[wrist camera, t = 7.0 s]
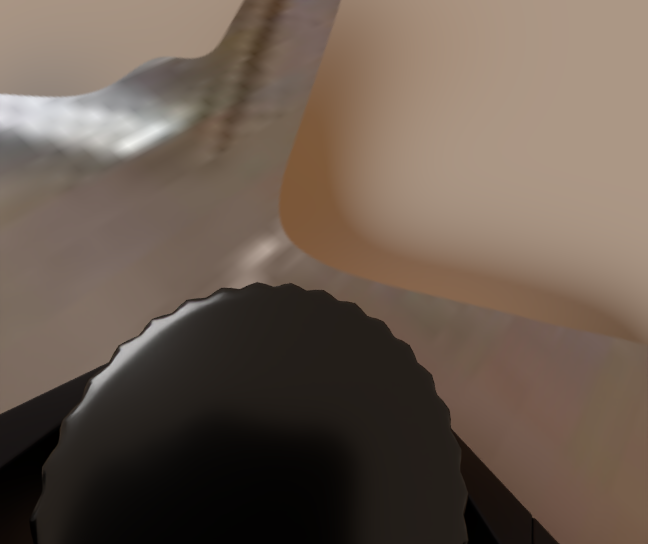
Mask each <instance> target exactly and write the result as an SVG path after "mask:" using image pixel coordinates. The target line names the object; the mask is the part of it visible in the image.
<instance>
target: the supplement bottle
mask: <svg viewBox="0 0 648 544" xmlns="http://www.w3.org/2000/svg"><path fill="white" fill-rule="evenodd" d="M450 423H451V418H450V411H449V409H448V407H447V406H446V404H445V403H444V402H443V401H442V399H441V398H440V397H439V396H438V395H437V393H436V390H435V384H434V380H433V377H432V374H430V373H429V372H428V371H427V370H426V369H425V368H424V367H423V366H421V365H420V364H419V363H417V360H416V358H415V355H414V353H413V351H412V349H411V347H410V345H408V344H407V343H405V342H404V341H402V340H399V339H397V338H395V337H394V336H393V334H392V333H391V331H390V329H389V328H388V327H387V325H386V324H385V323H384V321H381V320H379V319H376V318H371V317H369V316H367V315H366V314H365V313H364V312H363V311H362V309H361V308H360V307H358V306H357V305H356V304H355V303H352V302H347V301H338V300H337V299H335V298H334V297H333V296H332V295H330V294H329V293H327V292H326V291H324V290H310V291H306V290H304V289H302V288H301V287H299V286H297V285H294V284H292V283H289V284H283V285H281V286H276V287H272V286H269V285H266V284H262V283H258V282H256V283H254V284H251V285H248V286H246V287H244V288H242V289H234V288H221V289H219V290H217V291H215V292H214V293H213V294H212V295H210V296H208V297H207V298H198V299H190V300H186V301H185V302H184V303H182V304H181V305H180V306H179V307H178V308H177V309H176V310H175V311H174V312H173V313H171V314H167V315H163V316H160V317H157V318H154V319H152V320H151V321H150V322H149V323H148V324H147V325H146V327H145V328H144V330H143V331H142V332H141V334H140V335H139V336H137V337H134V338H132V339H130V340H128V341H126V342H124V343H122V344H121V345H119V346H118V348H117V349H116V351H115V352H114V354H113V356H112V358H111V360H110V362H109V364H108V365H107V366H105V367H104V368H102V369H101V370H99V371H98V372H97V373H95V374H94V375H93V376H92V377H90V378H89V379H88V381H87V384H86V386H85V388H84V393H83V396H82V398H81V401H80V402H79V403H78V404H77V405H76V406H75V407H74V408H73V409H72V410H71V411H70V412H69V413H68V414H67V415H66V416H65V417H64V418H63V420H62V423H61V427H60V437H59V441H58V445H57V446H56V447H55V449H54V450H53V451H52V453H51V454H50V455H49V457H48V458H47V460H46V461H45V463H44V465H43V466H42V474H41V481H42V494H41V495H40V497H39V499H38V501H37V503H36V505H35V507H34V510H33V512H32V514H31V517H30V519H29V523H30V530H31V535H32V539H33V543H34V544H468V541H469V539H468V533H467V527H466V523H465V518H464V513H465V509H466V505H467V500H468V494H469V492H468V489H467V486H466V483H465V480H464V478H463V475H462V473H461V461H462V448H461V446H460V444H459V442H458V440H457V439H456V437H455V436H454V434H453V432H452V431H451V425H450Z"/></svg>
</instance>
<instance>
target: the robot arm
mask: <svg viewBox="0 0 648 544" xmlns="http://www.w3.org/2000/svg"><path fill="white" fill-rule="evenodd" d="M108 364H109V362H108V363H106V364H104V365H102V366H100V367H98V368H96V369H94V370H92V371H90V372H87V373H85V374H83V375H81V376H79V377H77V378H75V379H73V380H71V381H69V382H67V383H65V384H62V385H60V386H58V387H56V388H54V389H52V390H50V391H48V392H46V393H44V394H42V395H39V396H37V397H35V398H33V399H31V400H29V401H27V402H25V403H23V404H21V405H19V406H16V407H14V408H12V409H10V410H8V411H6V412H4V413H2V414H0V544H34V543H33V539H32V535H31V530H30V523H29V519H30V517H31V514H32V512H33V510H34V507H35V505H36V503H37V501H38V499H39V497H40V495H41V494H42V481H41V474H42V466H43V465H44V463H45V461H46V460H47V458H48V457H49V455H50V454H51V453H52V451H53V450H54V449H55V447H56V446H57V445H58V441H59V437H60V427H61V423H62V420H63V418H64V417H65V416H66V415H67V414H68V413H69V412H70V411H71V410H72V409H73V408H74V407H75V406H76V405H77V404H78V403H79V402H80V401H81V398H82V396H83V393H84V388H85V386H86V384H87V381H88V379H89V378H90V377H92V376H93V375H94V374H95V373H97V372H98V371H99V370H101V369H102V368H104V367H105V366H107V365H108ZM451 431H452V432H453V434H454V436H455V437H456V439H457V440H458V442H459V444H460V446H461V448H462V461H461V473H462V475H463V478H464V480H465V483H466V486H467V489H468V492H469V494H468V500H467V505H466V509H465V513H464V518H465V523H466V527H467V533H468V539H469V541H468V544H559V543H558V542H557V541H556V540H555V539H554V538H553V537H552V536H551V535H550V534H549V533H548V532H547V530H546V529H545V528H544V527H543V526H542V525H541V524H540V523H539V522H538V521H537V520H536V519H535V518H532V515H531V514H530V512H529V511H528V510H527V509H526V508H525V507H524V506H523V505H522V504H521V503H520V502H519V501H518V500H517V499H516V497H515V496H514V495H513V494H512V493H511V492H510V491H509V490H508V489H507V488H506V487H505V486H504V485H503V484H502V482H501V481H500V480H499V479H498V478H497V477H496V476H495V475H494V474H493V473H492V472H491V471H490V470H489V469H488V467H487V466H486V465H485V464H484V463H483V462H482V461H481V460H480V459H479V458H478V457H477V456H476V455H475V454H474V452H473V451H472V450H471V449H470V448H469V447H468V446H467V445H466V444H465V443H464V442H463V441H462V440H461V439H460V437H459V436H458V435H457V434H456V433H455V432H454V431H453V430H452V429H451Z"/></svg>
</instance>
